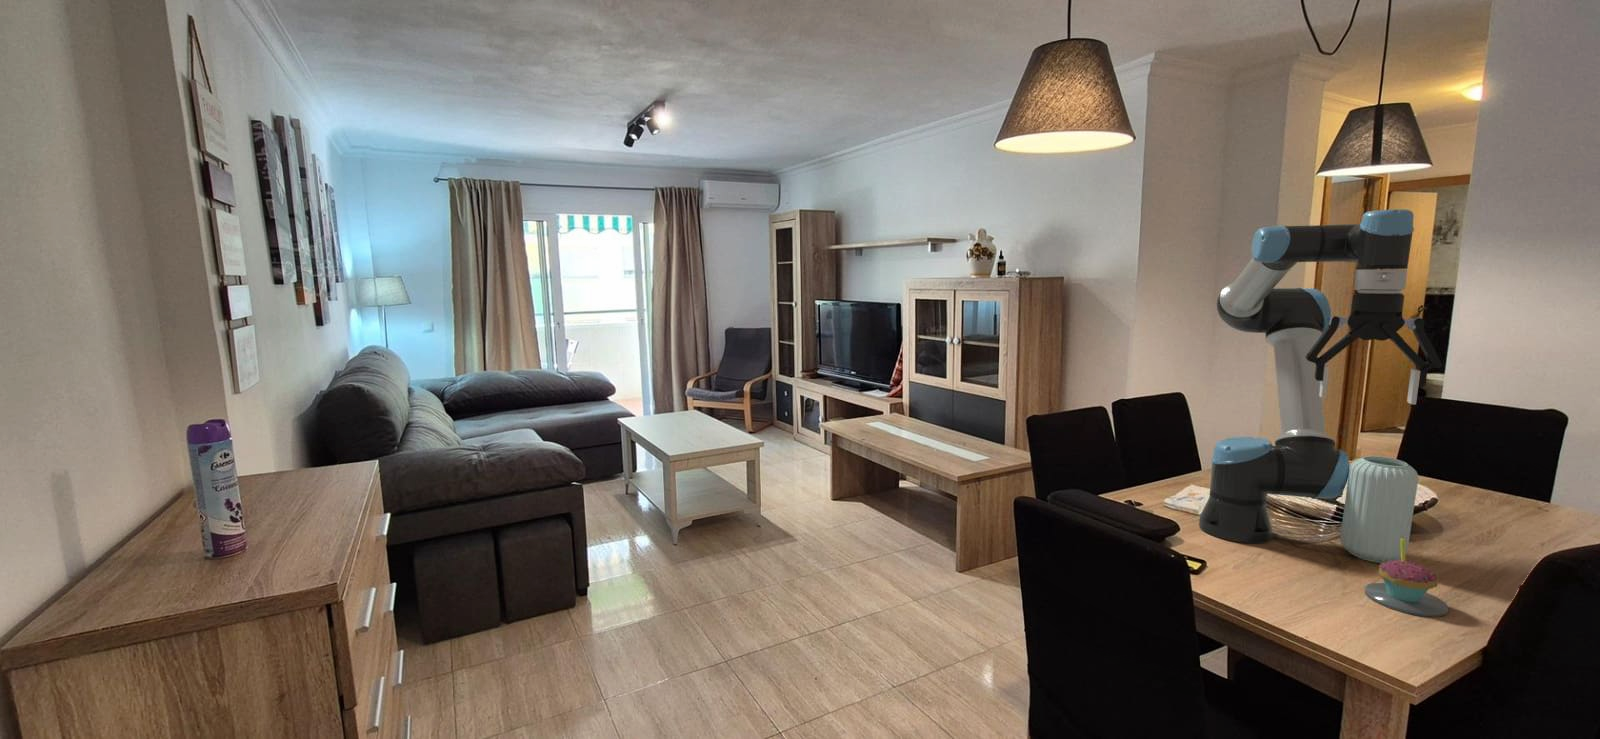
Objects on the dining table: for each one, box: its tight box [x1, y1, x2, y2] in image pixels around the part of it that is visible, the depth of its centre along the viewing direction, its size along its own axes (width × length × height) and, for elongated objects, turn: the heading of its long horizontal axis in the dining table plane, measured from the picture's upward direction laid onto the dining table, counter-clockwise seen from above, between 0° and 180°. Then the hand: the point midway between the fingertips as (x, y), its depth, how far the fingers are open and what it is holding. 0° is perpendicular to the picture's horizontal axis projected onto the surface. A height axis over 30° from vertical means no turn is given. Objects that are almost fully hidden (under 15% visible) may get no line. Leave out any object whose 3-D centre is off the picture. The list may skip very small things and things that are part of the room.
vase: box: [1339, 455, 1419, 564], centre depth 148 cm, size 12×12×22 cm
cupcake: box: [1378, 535, 1439, 603], centre depth 129 cm, size 9×8×12 cm
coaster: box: [1364, 582, 1449, 618], centre depth 130 cm, size 12×12×1 cm
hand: (1365, 400), depth 131 cm, fingers open, 13 cm apart
